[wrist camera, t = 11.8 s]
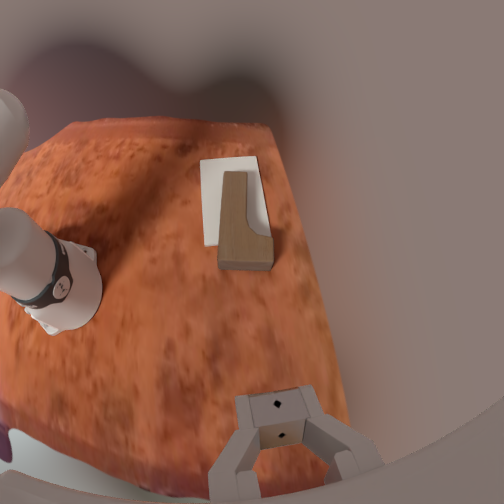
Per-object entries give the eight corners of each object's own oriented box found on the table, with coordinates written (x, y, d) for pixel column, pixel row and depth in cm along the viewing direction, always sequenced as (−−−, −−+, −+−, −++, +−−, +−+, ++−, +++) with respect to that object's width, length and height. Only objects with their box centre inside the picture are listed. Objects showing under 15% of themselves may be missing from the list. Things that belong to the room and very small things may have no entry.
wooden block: (271, 271, 49) (269, 186, 57) (274, 262, 45) (271, 172, 53) (218, 270, 49) (223, 184, 56) (217, 260, 45) (223, 170, 52)
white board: (271, 240, 53) (271, 238, 52) (204, 246, 51) (204, 245, 51) (255, 157, 60) (255, 156, 60) (200, 162, 59) (200, 160, 58)
